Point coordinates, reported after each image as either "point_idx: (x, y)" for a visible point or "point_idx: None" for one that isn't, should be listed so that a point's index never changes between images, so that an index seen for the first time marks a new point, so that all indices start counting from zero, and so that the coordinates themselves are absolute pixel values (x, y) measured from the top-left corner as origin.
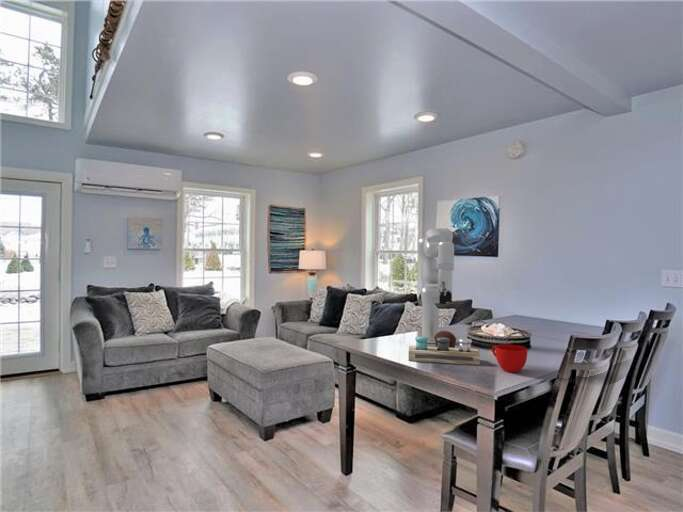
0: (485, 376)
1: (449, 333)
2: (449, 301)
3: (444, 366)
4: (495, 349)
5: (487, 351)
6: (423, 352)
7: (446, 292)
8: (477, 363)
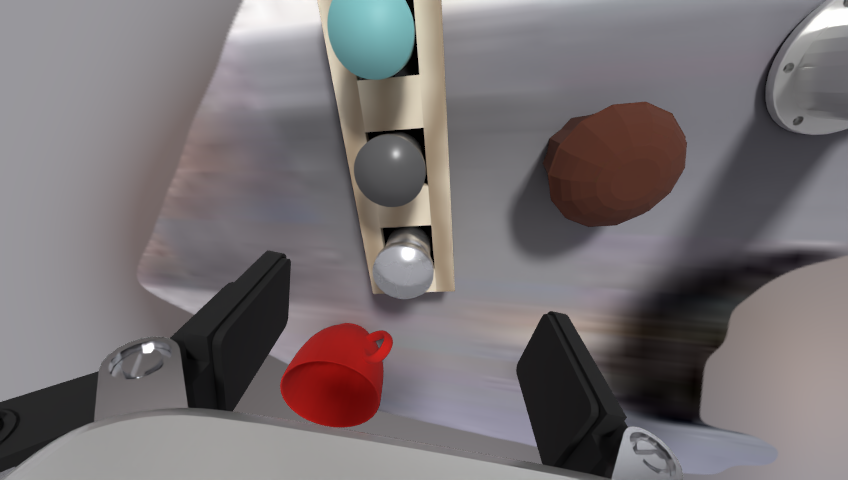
0: None
1: (597, 203)
2: (525, 361)
3: (309, 158)
4: (326, 352)
5: (586, 309)
6: (330, 58)
7: (610, 468)
8: None
